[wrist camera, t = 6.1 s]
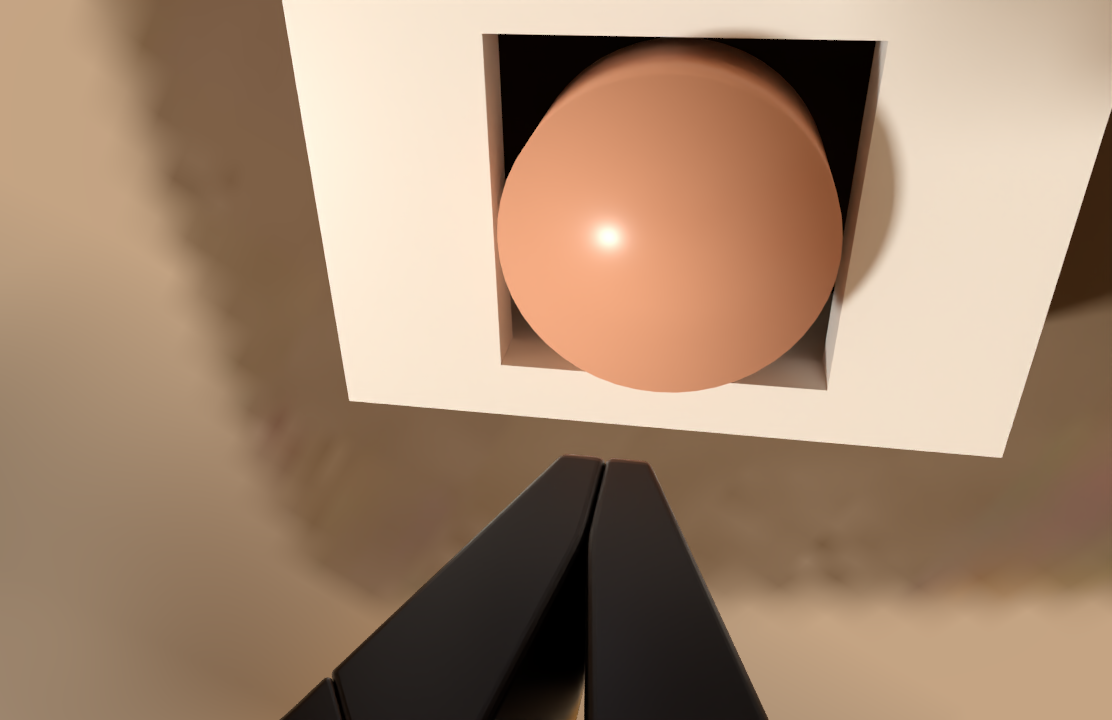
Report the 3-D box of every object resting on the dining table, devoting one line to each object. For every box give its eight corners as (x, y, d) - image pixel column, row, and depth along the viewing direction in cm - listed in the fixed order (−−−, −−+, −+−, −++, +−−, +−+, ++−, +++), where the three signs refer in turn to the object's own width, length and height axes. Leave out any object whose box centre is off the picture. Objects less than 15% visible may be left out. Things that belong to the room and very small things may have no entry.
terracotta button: (849, 40, 14) (871, 78, 11) (805, 330, 16) (816, 404, 14) (523, 34, 14) (488, 69, 12) (533, 312, 17) (505, 379, 15)
